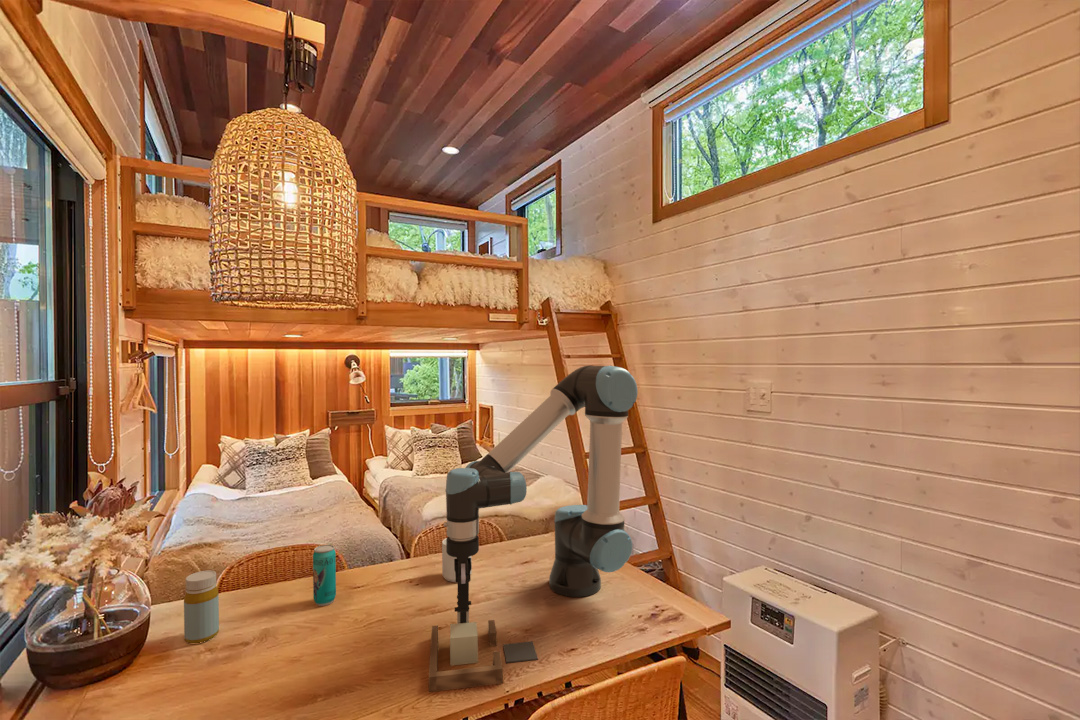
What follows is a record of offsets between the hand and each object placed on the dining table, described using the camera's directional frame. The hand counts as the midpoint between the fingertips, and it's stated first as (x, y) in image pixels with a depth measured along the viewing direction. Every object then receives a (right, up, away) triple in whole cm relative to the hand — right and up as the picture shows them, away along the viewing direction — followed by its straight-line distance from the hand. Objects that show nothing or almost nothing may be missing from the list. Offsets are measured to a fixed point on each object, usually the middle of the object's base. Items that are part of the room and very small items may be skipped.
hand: (463, 635), depth 121 cm
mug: (-8, -2, +38) cm, 39 cm away
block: (+1, -2, -5) cm, 5 cm away
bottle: (-64, -3, +4) cm, 64 cm away
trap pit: (+13, -2, -3) cm, 14 cm away
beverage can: (-41, -2, +21) cm, 46 cm away
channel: (+1, -2, -6) cm, 6 cm away
